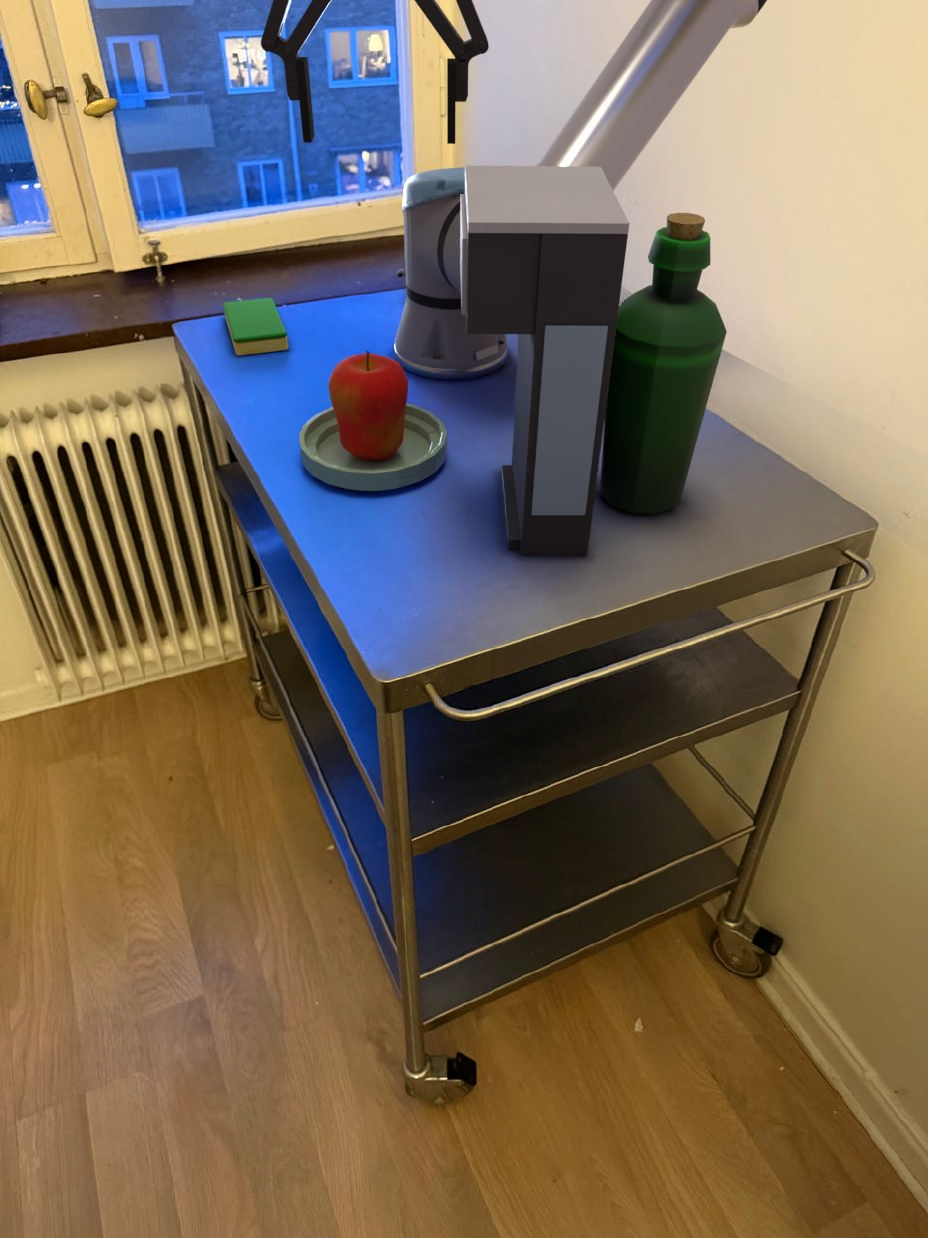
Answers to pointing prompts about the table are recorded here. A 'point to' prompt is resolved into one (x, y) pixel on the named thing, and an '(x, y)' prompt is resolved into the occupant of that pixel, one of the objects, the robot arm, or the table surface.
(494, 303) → the coffee maker
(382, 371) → the apple
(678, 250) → the bottle
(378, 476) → the dish
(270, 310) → the dish sponge
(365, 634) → the table surface
